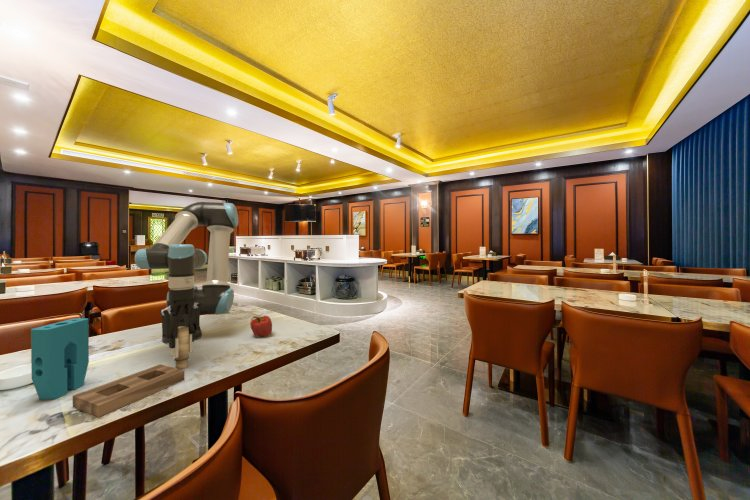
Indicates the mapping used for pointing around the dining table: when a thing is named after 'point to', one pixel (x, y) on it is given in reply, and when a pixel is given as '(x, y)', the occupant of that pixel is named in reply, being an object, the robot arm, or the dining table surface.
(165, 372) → the board
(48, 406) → the dining table surface
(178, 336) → the peg
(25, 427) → the dining table surface
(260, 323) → the red apple
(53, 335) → the block
